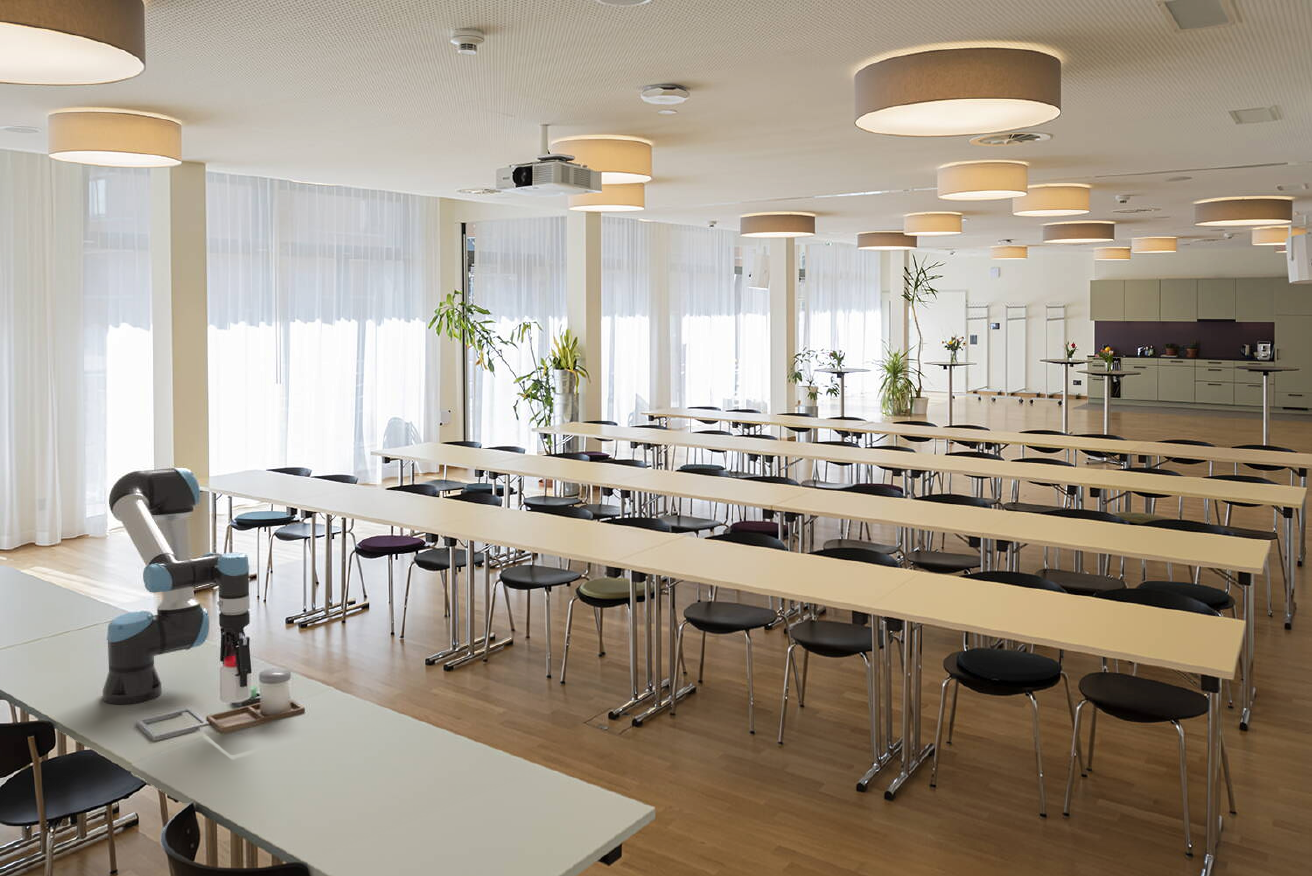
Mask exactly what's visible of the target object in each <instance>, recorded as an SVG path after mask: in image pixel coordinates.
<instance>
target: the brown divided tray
mask: <svg viewBox="0 0 1312 876" xmlns="http://www.w3.org/2000/svg"><path fill="white" fill-rule="evenodd" d="M305 712H306V708H305V707H304V706H302V705H301V704H299V703H298V702H296V701H295V700H294V699H292V698H291V710H290V711H287V712H283V713H279V714H275V715H271V716H263V715H262V714H260V703H256V704H252V705H248V706H244V707H240V708H239V707H237V708H236V707H235V708H233V709H229V710H225V711H221V712H217V713H213V714H209V715H208V714H207V715H206V718H205V720H207V721H208V722H209V723H210V724H209V725H212V726H213V727H214V728H216V729H217V730H218V731H219V732H220V733H222V735H223V734H227V733H231V732H235V731H239V730H242V729H246V728H251V727H254V726H258V725H263V724H266V723H268V722H273V721H278V720H281V719H284V718H287V717H288V718H289V717H292V716H295V715H299V714H304V713H305Z"/></svg>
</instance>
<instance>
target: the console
mask: <svg viewBox="0 0 1312 876" xmlns="http://www.w3.org/2000/svg"><path fill="white" fill-rule="evenodd" d="M256 703H260V689H259V690H258V689H257V697H254V698H250V699H247V700H245V701H242V702H236V703H233V705H235V706H236V707H237V708H240V707H244V706H248V705H252V704H256Z"/></svg>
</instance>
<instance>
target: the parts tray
mask: <svg viewBox="0 0 1312 876" xmlns="http://www.w3.org/2000/svg"><path fill="white" fill-rule="evenodd" d="M185 712H189V714H191V715H193V717H195V718H196V719H197V720H198V721H200V722H201V723H198V724H193V725H190V726H189V725H188V726H186V727H181V728H178V729H173V730H169V731H165V732H162V733H158V734H157V733H156V732H155V731H153V730H152V728H150V727H149V726H148V725H147V724H150V723H156V722H158V721H162V720H163V721H164V720H167V719H171V718H175V717H180V716H183V715H184V714H183V713H185ZM135 723H136V724H135V725H136V726H137V727H138V728H139V729H140V730H141V731H143V733H145V734H146V735H147V736H148V738H150V739H151V740H152V741H154V742H156V741H160V740H164V739H168V738H172V737H176V736H179V735H180V734H181V735H183V733H184V734H188V733H192V732H195V731H200V730H201V728H200V727H204V726H208V725H211V724H210V723H209V722H208V721H207V720H206V718H204V717H203V716H201V715H200V714H199V713H198V712H197V711H195V709H193V708H192V707H187V708H186V707H185V708H182V709H178V710H173V711H170V712H169V711H168V712H166V713H160V714H158V715H154V716H148V717H144V718H141V719H137V720H136V721H135Z"/></svg>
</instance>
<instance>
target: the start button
mask: <svg viewBox="0 0 1312 876" xmlns="http://www.w3.org/2000/svg"><path fill="white" fill-rule="evenodd" d="M257 688H258V687H257V686H255V685H251V697H250V698H254V697H257V690H258V689H257ZM250 698H249V699H250Z"/></svg>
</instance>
